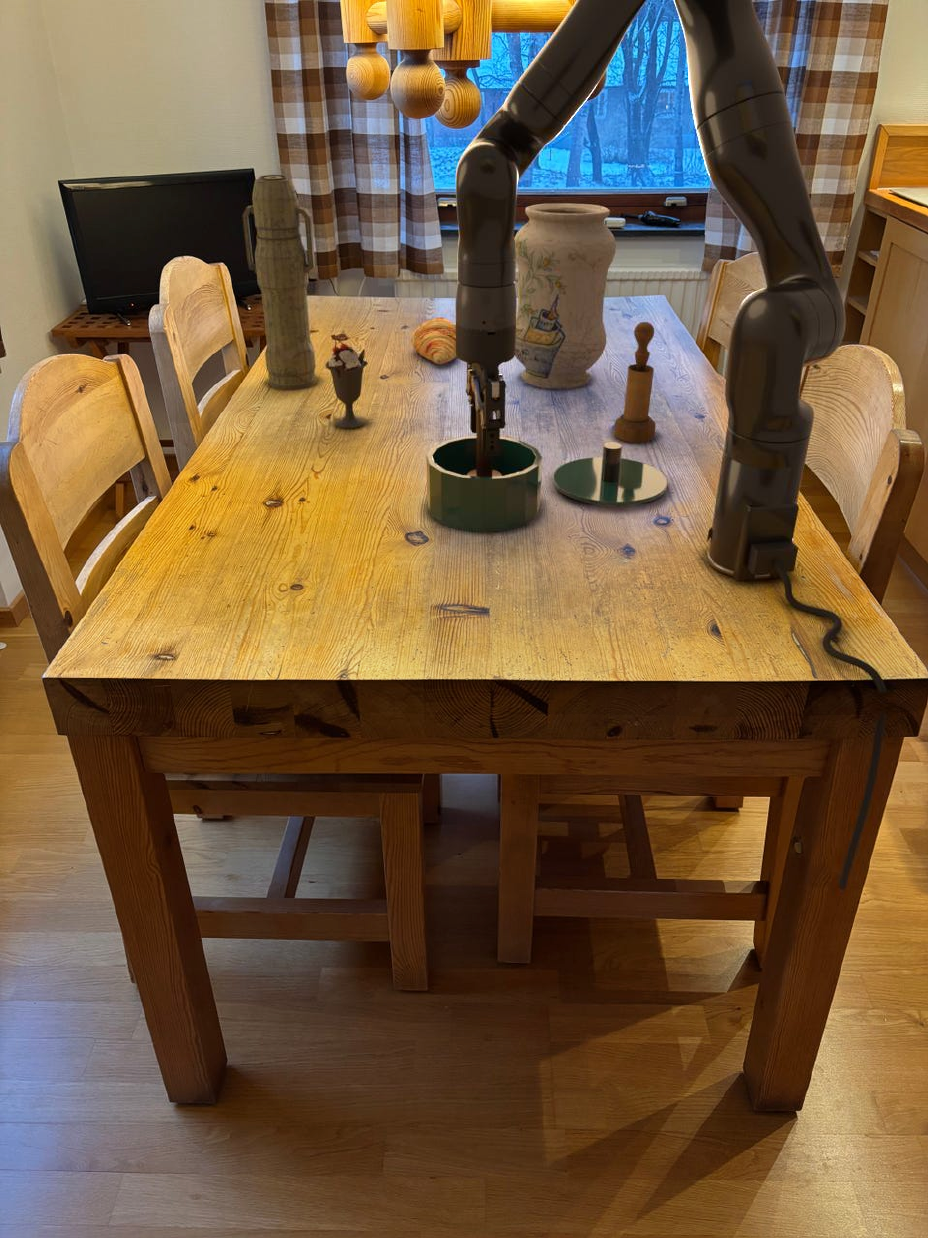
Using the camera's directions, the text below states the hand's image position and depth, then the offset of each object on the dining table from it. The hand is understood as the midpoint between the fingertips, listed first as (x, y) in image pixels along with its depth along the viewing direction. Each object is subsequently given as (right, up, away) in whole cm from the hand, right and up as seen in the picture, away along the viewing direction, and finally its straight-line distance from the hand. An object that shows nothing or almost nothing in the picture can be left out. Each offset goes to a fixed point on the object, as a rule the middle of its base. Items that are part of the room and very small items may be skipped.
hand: (484, 443), depth 128 cm
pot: (0, -8, +5) cm, 9 cm away
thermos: (-34, +21, +52) cm, 66 cm away
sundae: (-22, +9, +33) cm, 41 cm away
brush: (0, -7, +5) cm, 9 cm away
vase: (+15, +22, +54) cm, 60 cm away
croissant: (-8, +30, +68) cm, 75 cm away
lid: (+18, -4, +11) cm, 21 cm away
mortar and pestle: (+25, +6, +28) cm, 38 cm away
